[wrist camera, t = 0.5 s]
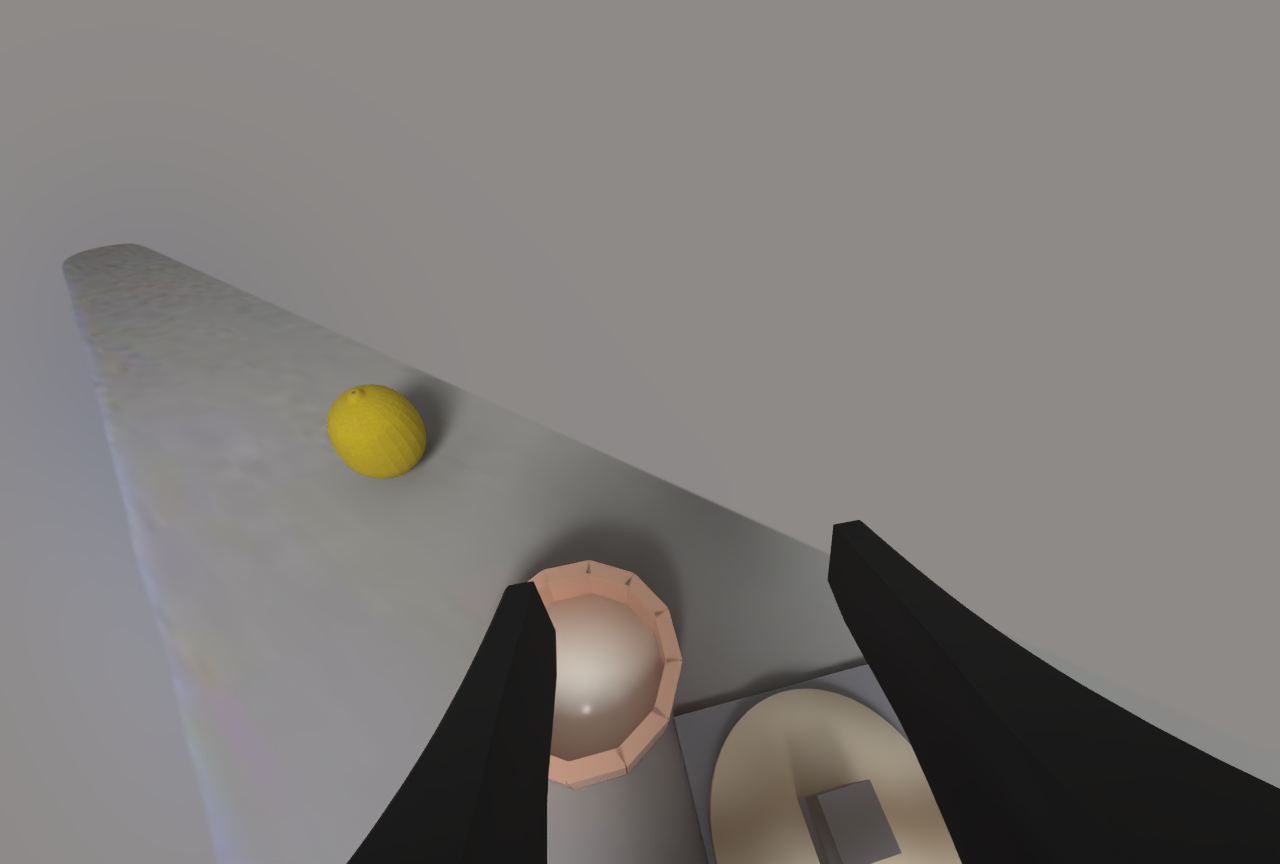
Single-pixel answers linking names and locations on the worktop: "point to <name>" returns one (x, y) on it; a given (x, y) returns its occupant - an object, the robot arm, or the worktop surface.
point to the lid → (822, 788)
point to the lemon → (376, 431)
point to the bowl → (607, 670)
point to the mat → (713, 724)
